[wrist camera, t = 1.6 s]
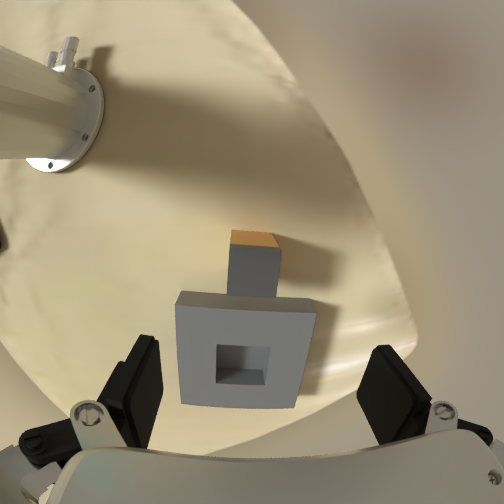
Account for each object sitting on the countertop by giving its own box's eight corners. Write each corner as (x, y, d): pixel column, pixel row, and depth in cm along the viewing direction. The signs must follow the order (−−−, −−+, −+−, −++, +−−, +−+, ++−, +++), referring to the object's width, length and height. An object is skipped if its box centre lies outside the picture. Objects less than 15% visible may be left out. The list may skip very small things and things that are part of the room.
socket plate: (181, 290, 29) (175, 304, 26) (308, 298, 30) (316, 312, 27) (185, 385, 33) (181, 403, 30) (289, 390, 34) (294, 408, 31)
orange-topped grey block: (231, 229, 28) (229, 247, 21) (271, 232, 28) (281, 251, 22) (228, 267, 29) (226, 295, 22) (267, 270, 29) (275, 298, 23)
